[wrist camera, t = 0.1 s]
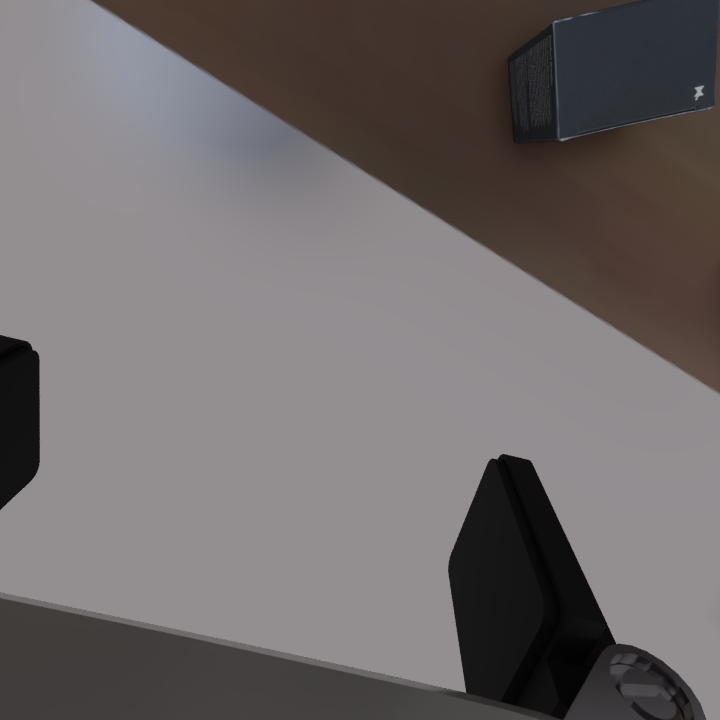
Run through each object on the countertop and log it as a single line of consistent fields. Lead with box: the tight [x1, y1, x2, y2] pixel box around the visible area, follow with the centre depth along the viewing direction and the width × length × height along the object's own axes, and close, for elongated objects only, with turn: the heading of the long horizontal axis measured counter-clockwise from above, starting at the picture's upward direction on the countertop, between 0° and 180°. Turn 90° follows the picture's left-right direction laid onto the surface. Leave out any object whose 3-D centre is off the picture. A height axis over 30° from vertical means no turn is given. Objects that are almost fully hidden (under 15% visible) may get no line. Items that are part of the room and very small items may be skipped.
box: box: [508, 0, 719, 143], centre depth 30 cm, size 8×6×11 cm
